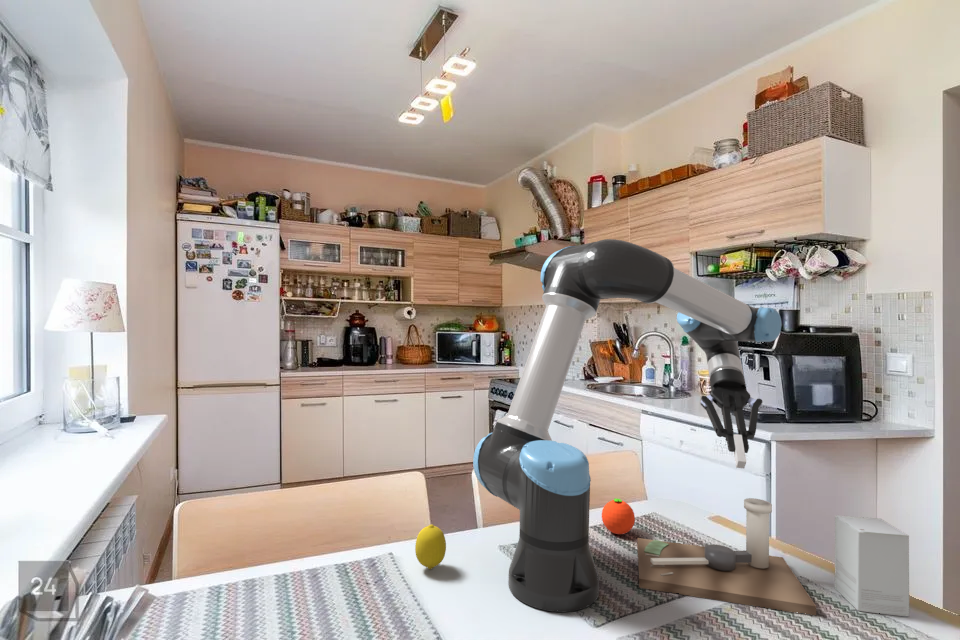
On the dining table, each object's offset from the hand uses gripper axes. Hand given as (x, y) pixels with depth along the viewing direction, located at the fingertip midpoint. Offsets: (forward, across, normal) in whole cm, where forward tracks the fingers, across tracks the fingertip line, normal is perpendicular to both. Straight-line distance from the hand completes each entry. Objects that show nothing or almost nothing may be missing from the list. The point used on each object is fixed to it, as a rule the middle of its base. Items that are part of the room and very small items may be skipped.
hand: (741, 464), depth 102 cm
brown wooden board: (+23, +8, +1) cm, 25 cm away
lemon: (+33, +57, +10) cm, 67 cm away
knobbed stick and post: (+22, +8, +2) cm, 23 cm away
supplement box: (+24, -15, +1) cm, 29 cm away
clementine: (+14, +25, -9) cm, 30 cm away
